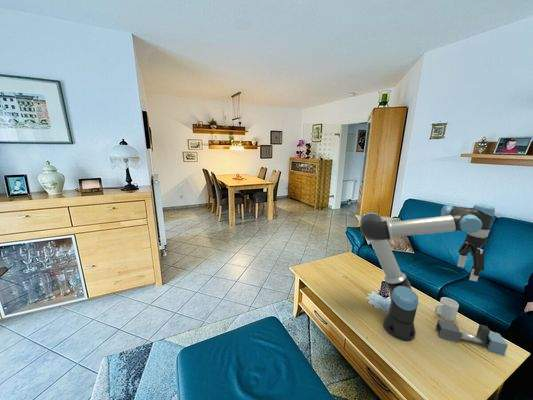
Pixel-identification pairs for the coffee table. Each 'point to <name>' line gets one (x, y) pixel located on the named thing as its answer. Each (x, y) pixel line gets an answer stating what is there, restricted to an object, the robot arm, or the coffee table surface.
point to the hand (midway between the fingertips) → (466, 273)
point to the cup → (447, 309)
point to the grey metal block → (448, 331)
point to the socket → (496, 343)
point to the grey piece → (478, 335)
